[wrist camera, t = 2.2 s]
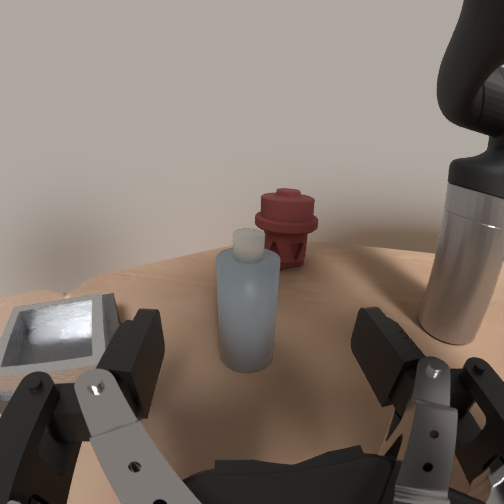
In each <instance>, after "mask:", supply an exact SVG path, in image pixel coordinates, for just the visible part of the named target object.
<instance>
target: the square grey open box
mask: <svg viewBox="0 0 504 504" xmlns="http://www.w3.org/2000/svg"><path fill="white" fill-rule="evenodd" d="M120 325H121V323H120V319H119V314H118V310H117V305H116V301H115V297H114V293H111V294H106V295H102V293H99V294H93V295H87V296H81V297H75V298H69V299H63V300H57V301H51V302H45V303H39V304H32V305H26V306H20V307H14V308H13V311H12V313H11V315H10V318H9V320H8V322H7V325H6V327H5V330H4V332H3V335H2V338H1V340H0V413H1V415H2V414H3V412H4V410H5V408H6V406H7V404H8V403H9V401H10V399H11V397H12V395H13V394H14V392H15V390H16V388H17V387H18V385H19V383H20V382H21V380H22V379H23V378H24V377H25V376H26V375H28V374H30V373H32V372H37V371H41V372H45V373H47V374H49V375H50V376H51V378H52V380H53V382H54V384H58V383H75V381H76V379H77V378H78V377H79V376H80V375H81V374H82V373H83V372H85V371H88V370H91V369H96V367H97V365H98V363H99V361H100V359H101V357H102V355H103V353H104V352H105V350H106V348H107V346H108V344H110V343H109V342H110V341H111V339H112V337H113V335H114V333H115V332H116V330H117V328H118V327H119V326H120ZM140 419H143V418H139V417H137V420H140Z"/></svg>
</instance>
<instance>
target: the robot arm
mask: <svg viewBox="0 0 504 504" xmlns="http://www.w3.org/2000/svg"><path fill="white" fill-rule="evenodd" d="M503 64H504V0H464V2H463V6H462V10H461V14H460V17H459V20H458V23H457V25H456V28H455V30H454V32H453V35H452V38H451V40H450V42H449V45H448V47H447V49H446V52H445V54H444V57H443V59H442V62H441V66H440V69H439V74H438V80H437V100H438V104H439V107H440V110H441V111H442V113H443V115H444V116H445V117H446V118H447V119H448V120H449V121H450V122H452V123H454V124H456V125H458V126H460V127H463V128H466V129H470V130H473V131H476V132H479V133H483V134H485V135H488V136H489V142H488V147H487V150H486V151H485V152H484V153H482V154H480V155H477V156H474V157H468V158H459V159H455V160H453V161H452V162H451V164H450V166H449V175H448V182H449V183H448V185H447V194H446V201H445V207H444V208H445V209H444V214H443V220H442V226H441V231H440V236H439V241H438V246H437V250H436V254H435V259H434V263H433V267H432V271H431V274H430V278H429V282H428V285H427V288H426V292H425V295H424V298H423V301H422V304H421V307H420V310H419V314H418V320H419V322H420V325H421V326H422V327H423V328H424V329H425V330H426V331H427V332H428V333H429V334H430V335H432V336H433V337H435V338H437V339H439V340H441V341H444V342H447V343H451V344H459V345H460V344H466V343H469V342H471V341H472V340H473V339H474V338H475V336H476V334H477V332H478V329H479V327H480V325H481V322H482V320H483V318H484V315H485V313H486V311H487V308H488V305H489V303H490V300H491V297H492V295H493V292H494V289H495V286H496V283H497V280H498V277H499V273H500V270H501V267H502V263H503V260H504V68H503V67H500V66H502V65H503ZM109 343H110V344H108V346H107V348H106V350H105V352H104V353H103V355H102V357H101V359H100V361H99V363H98V365H97V367H96V369H91V370H88V371H85V372H83V373H82V374H81V375H80V376H79V377H78V378H77V379H76V381H75V383H58V384H54V382H53V380H52V378H51V376H50V375H49V374H47V373H45V372H41V371H37V372H32V373H30V374H28V375H26V376H25V377H24V378H23V379H22V380H21V382H20V383H19V385H18V387H17V388H16V390H15V392H14V394H13V395H12V397H11V399H10V401H9V403H8V404H7V406H6V408H5V410H4V412H3V414H2V416H1V418H0V504H67V499H68V494H69V490H70V485H71V481H72V477H73V473H74V469H75V465H76V461H77V458H78V454H79V450H80V447H81V443H82V441H90V442H91V445H92V447H93V449H94V452H95V454H96V456H97V458H98V460H99V463H100V465H101V467H102V469H103V471H104V473H105V475H106V477H107V479H108V481H109V483H110V484H111V486H112V488H113V490H114V492H115V493H116V495H117V497H118V499H119V500H120V502H121V504H504V382H503V381H502V379H501V378H500V377H499V376H498V374H497V373H496V372H495V371H494V370H493V368H492V367H491V366H490V365H489V364H488V363H487V362H486V361H484V360H483V359H480V358H476V357H472V358H469V359H468V360H467V361H466V363H465V364H464V366H463V368H462V369H450V368H449V367H448V365H447V364H446V363H445V362H444V361H442V360H441V359H438V358H436V357H425V355H424V354H423V353H422V352H421V350H420V349H419V348H418V347H417V346H416V344H415V343H414V342H413V341H412V340H411V338H409V336H408V335H407V334H406V332H404V330H403V329H402V328H401V326H400V325H399V324H398V323H397V322H395V321H393V320H392V319H390V318H389V317H386V315H385V314H384V313H383V312H382V311H381V310H380V308H378V307H369V308H361V309H360V310H359V312H358V315H357V319H356V323H355V327H354V330H353V334H352V338H351V349H352V352H353V354H354V356H355V358H356V360H357V361H358V363H359V365H360V367H361V369H362V371H363V372H364V374H365V376H366V378H367V380H368V382H369V384H370V385H371V387H372V389H373V391H374V393H375V395H376V397H377V399H378V401H379V403H380V404H381V406H382V407H384V406H388V405H392V404H393V405H394V407H395V408H394V409H393V411H392V413H391V417H390V420H389V423H388V426H387V430H386V433H385V436H384V439H383V442H382V444H381V447H380V449H379V451H378V453H377V454H367V453H363V451H362V448H361V446H360V445H358V446H354V447H349V448H345V449H340V450H335V451H329V452H326V453H324V454H321V455H319V456H316V457H314V458H311V459H309V460H306V461H303V462H300V463H298V464H293V465H288V464H278V463H270V462H263V461H257V460H215V469H211V470H206V471H203V472H199V473H197V474H194V475H191V476H189V477H187V478H185V479H183V480H181V479H180V477H179V476H178V475H177V474H176V472H175V471H174V470H173V468H172V467H171V466H170V464H169V463H168V462H167V460H166V459H165V458H164V456H163V455H162V453H161V452H160V451H159V449H158V448H157V446H156V445H155V443H154V442H153V440H152V439H151V437H150V436H149V434H148V433H147V431H146V429H145V428H144V426H143V425H142V423H141V422H140V420H137V417H139V418H146V419H147V418H148V414H149V410H150V406H151V402H152V398H153V394H154V390H155V386H156V383H157V379H158V375H159V372H160V368H161V364H162V361H163V357H164V351H165V344H164V337H163V331H162V324H161V318H160V312H159V310H157V309H139V310H138V312H137V314H136V316H135V317H134V319H133V321H132V320H126V321H125V322H124V323H123V324H121V325H120V326H119V327H118V328H117V330H116V332H115V333H114V335H113V337H112V339H111V341H110V342H109ZM475 401H476V403H477V404H478V406H479V407H480V408H481V410H482V411H483V413H484V415H485V417H486V425H485V427H484V428H483V430H482V431H481V429H480V428H479V426H478V424H477V423H476V421H475V419H474V418H473V416H472V415H471V413H470V412H469V410H470V408H471V407H472V406H473V404H474V403H475ZM454 453H455V455H456V457H457V459H458V461H459V463H460V465H461V467H462V469H463V471H464V473H465V475H466V478H467V480H468V482H469V484H470V492H469V493H468V494H467V495H466V494H464V493H462V492H459V491H457V490H454V489H452V488H450V487H449V484H450V479H451V473H452V467H453V460H454Z"/></svg>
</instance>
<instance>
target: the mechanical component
mask: <svg viewBox="0 0 504 504" xmlns="http://www.w3.org/2000/svg"><path fill="white" fill-rule="evenodd" d="M314 201H315V200H314V199H313V198H312V197H310V196H306V195H302V194H301V193H300V191H299V190H296V189H286V188H283V189H282V188H281V189H277V192H276V193H267V194H264V195H262V196H261V212H259V213H257V214H256V215H255V224H256V226H257V227H259V228H260V229H262V230H264V233H265V243H264V249H268V250H271V251H273V252H275V253H276V254H278V255H279V256H280V270H281V269H283V268H287V267H295V266H302V265H303V263H304V258H305V251H306V244H307V234H308V233H311V232H313V231H315V230H316V229H317V227H318V219H317V218H316V217H315V216H314V215H313V213H314Z"/></svg>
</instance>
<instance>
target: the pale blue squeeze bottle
mask: <svg viewBox="0 0 504 504" xmlns="http://www.w3.org/2000/svg"><path fill="white" fill-rule="evenodd" d="M264 242H265V233H264V232H263V231H261V230H258V229H239V230H235V231H234V232H233V248H230V249H227V250H224V251H222V252H220V253H219V254H218V255H217V256H216V270H217V301H218V325H219V345H220V358H221V361H222V362H223V364H224V365H225V366H227V367H228V368H230V369H232V370H234V371H237V372H244V373H250V372H256V371H259V370H262V369H264V368H265V367H267V366H268V365H269V364H270V362H271V360H272V356H273V346H274V335H275V324H276V312H277V300H278V287H279V274H280V256H279V255H278V254H276V253H275V252H273V251H271V250H268V249H264Z"/></svg>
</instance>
